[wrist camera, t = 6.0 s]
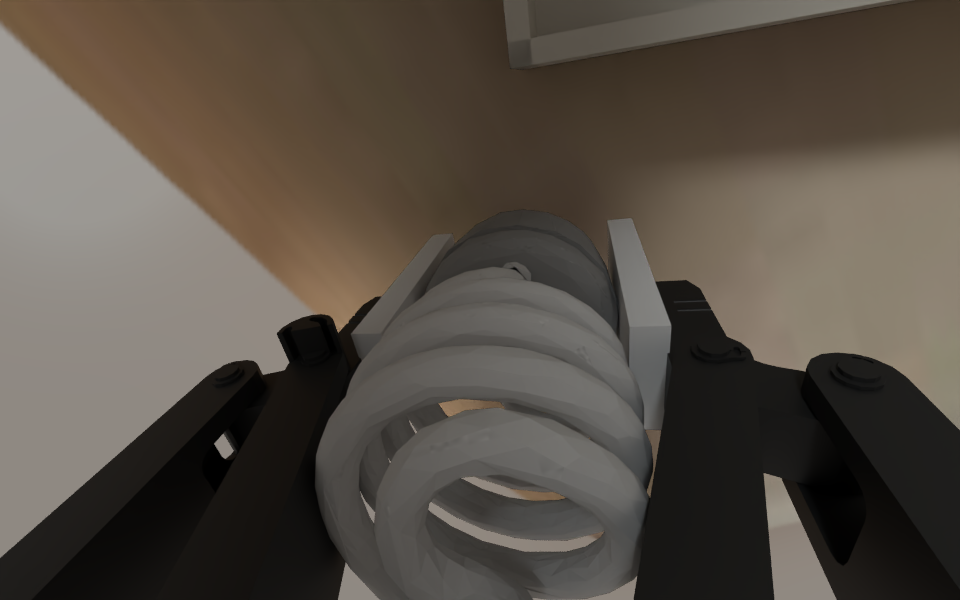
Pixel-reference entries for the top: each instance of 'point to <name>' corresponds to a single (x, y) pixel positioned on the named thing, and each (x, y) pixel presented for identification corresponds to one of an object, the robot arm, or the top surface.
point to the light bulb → (494, 427)
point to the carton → (643, 23)
